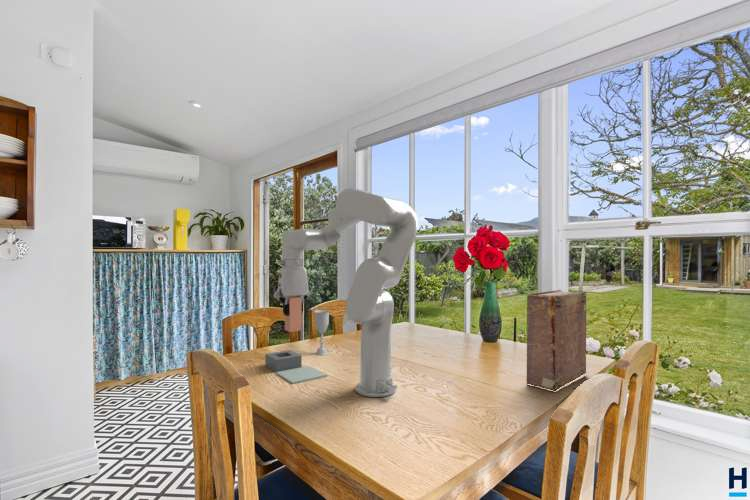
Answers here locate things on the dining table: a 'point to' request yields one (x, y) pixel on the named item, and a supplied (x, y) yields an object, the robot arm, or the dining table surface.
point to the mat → (301, 374)
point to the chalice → (321, 327)
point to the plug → (294, 315)
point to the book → (555, 338)
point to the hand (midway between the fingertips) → (293, 314)
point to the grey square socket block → (283, 360)
